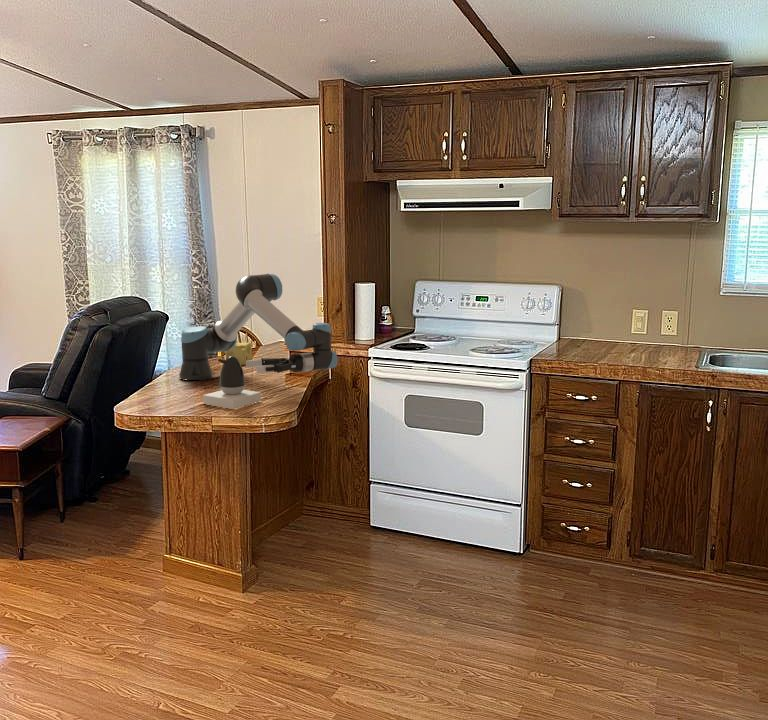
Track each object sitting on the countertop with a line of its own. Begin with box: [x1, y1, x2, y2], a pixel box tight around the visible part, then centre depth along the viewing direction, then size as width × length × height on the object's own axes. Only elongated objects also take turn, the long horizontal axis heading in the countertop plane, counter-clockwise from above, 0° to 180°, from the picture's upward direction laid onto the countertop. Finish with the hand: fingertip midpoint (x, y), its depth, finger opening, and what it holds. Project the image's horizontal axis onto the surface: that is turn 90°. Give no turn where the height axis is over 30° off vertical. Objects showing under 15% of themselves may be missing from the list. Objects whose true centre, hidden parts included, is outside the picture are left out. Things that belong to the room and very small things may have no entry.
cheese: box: [225, 342, 253, 366], centre depth 408 cm, size 10×11×10 cm
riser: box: [202, 389, 262, 410], centre depth 320 cm, size 16×16×4 cm
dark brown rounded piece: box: [217, 356, 246, 395], centre depth 319 cm, size 10×10×15 cm
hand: (251, 366), depth 322 cm, fingers open, 13 cm apart
